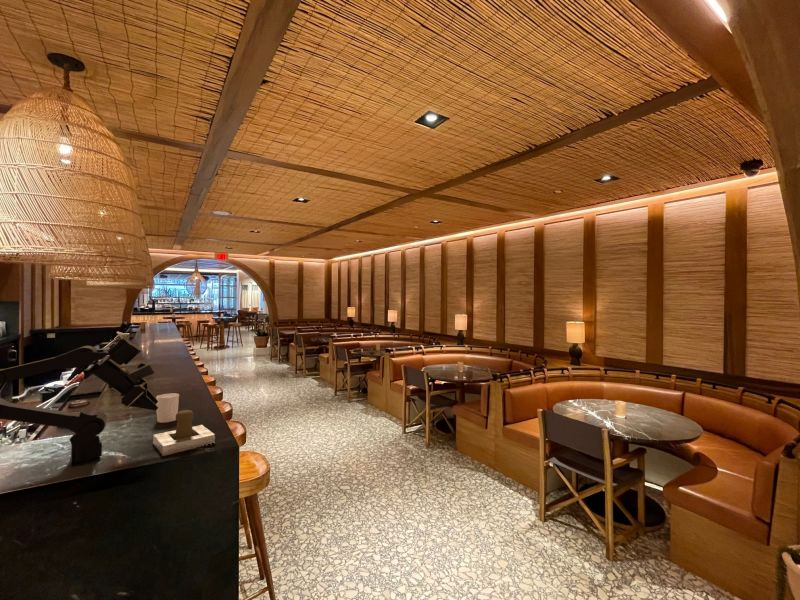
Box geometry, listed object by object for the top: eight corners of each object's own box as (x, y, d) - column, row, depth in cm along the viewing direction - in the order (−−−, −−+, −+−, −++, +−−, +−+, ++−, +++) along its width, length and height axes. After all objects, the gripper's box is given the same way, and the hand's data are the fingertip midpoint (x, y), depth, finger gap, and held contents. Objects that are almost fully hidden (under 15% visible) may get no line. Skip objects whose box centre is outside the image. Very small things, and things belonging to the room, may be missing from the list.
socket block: (162, 455, 112) (163, 446, 112) (153, 443, 122) (153, 434, 122) (214, 443, 122) (214, 434, 122) (201, 433, 132) (202, 424, 132)
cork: (184, 447, 119) (185, 414, 119) (169, 446, 120) (169, 412, 120) (198, 441, 124) (199, 409, 125) (183, 439, 126) (184, 407, 126)
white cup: (182, 419, 148) (182, 395, 148) (161, 424, 142) (161, 399, 142) (172, 416, 152) (173, 392, 153) (151, 421, 146) (152, 396, 146)
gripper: (135, 359, 108) (178, 391, 114) (137, 353, 123) (176, 381, 129) (101, 390, 103) (148, 421, 109) (108, 379, 119) (149, 407, 125)
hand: (157, 405), depth 118 cm, fingers open, 9 cm apart
